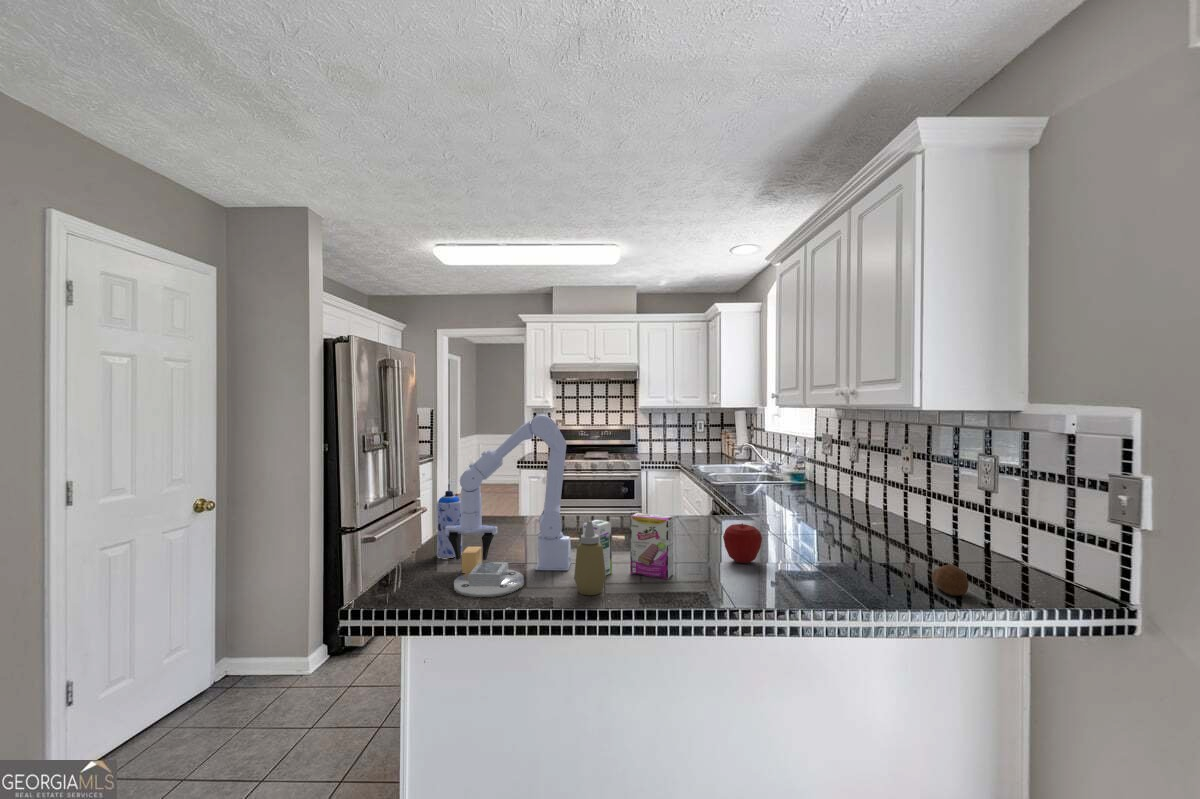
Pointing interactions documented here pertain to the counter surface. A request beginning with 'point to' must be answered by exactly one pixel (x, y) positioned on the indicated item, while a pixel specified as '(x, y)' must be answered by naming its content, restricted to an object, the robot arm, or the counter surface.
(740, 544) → the apple
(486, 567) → the gray round plate
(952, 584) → the potato
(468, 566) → the tan rectangular block
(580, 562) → the squeeze bottle
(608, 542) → the syrup box
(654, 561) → the candy bar box
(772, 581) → the counter surface
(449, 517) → the aerosol can
